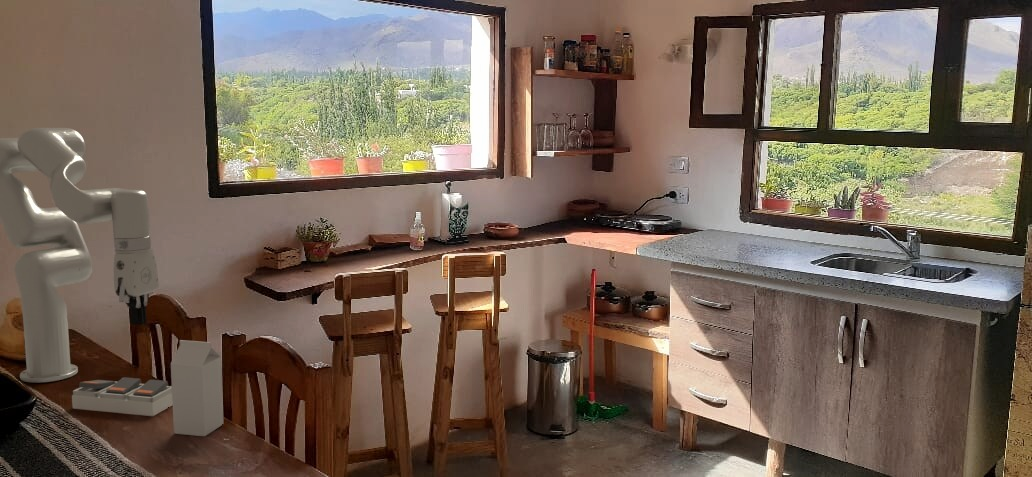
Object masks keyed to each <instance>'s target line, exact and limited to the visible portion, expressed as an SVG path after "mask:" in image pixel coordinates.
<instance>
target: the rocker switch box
mask: <svg viewBox="0 0 1032 477" xmlns="http://www.w3.org/2000/svg"><path fill="white" fill-rule="evenodd" d="M117 382H118V381H116V380H115V383H117ZM144 384H145V383H140V384H139V385H138V386H137V387H135V388H134V389H133V390H132V391H130V392H128V393H126V394H113V393H106V390H108V389H109V388H110V387H112V386H113V385H114V384H113V385H111V386H109V387H104V388H98V389H94V388H83V387H78V388H75V389H74V390H72V395H71V403H72V404H71V405H72V409H74V410H85V411H96V412H103V413H104V412H107V413H116V414H117V413H118V414H125V415H136V416H148V417H154V416H156V415H157V414H159V413H161V412H163V411H165V410H167V409H169V408H171V407H173V402H172V385H170V386H169V385H168V386H166V387H165V388H164V389H163V390H162V391H161V392H159V393H158V394H157V395H155V396H153V397H146V396H135V395H134V394H133V393H134V392H136V391H137V390H138V389H139V388H140V387H142V386H143V385H144ZM168 407H169V408H168Z"/></svg>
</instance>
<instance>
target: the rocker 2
mask: <svg viewBox="0 0 1032 477" xmlns="http://www.w3.org/2000/svg"><path fill="white" fill-rule="evenodd" d="M116 382H117V383H115V384H114V385H113V386H112V387H110V388H109V389H108V390H106V393H113V394H126V393H128V392H130V391H132V390H133V389H134V388H135V387H137V386H138V385H139V384H142V379H141V378H135V377H128V376H127V377H125V376H124V377H122V378H121V379H119V380H118V381H116Z"/></svg>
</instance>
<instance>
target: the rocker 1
mask: <svg viewBox="0 0 1032 477" xmlns="http://www.w3.org/2000/svg"><path fill="white" fill-rule="evenodd" d="M115 381H116V380H115ZM115 381H114V380H104V379H96V380H88V381H87V380H86V381H80V382H79V385H78V388H80V387H83V388H94V389H98V388H104V387H109V386H111V385H113V384H115Z"/></svg>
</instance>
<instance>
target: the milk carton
mask: <svg viewBox="0 0 1032 477" xmlns="http://www.w3.org/2000/svg"><path fill="white" fill-rule="evenodd" d="M222 372H223V371H222V356H221V355H220V354H219V353H218V352H217V351H216V350H215V349H214V348H213V347H212V342H208V341H197V340H185V339H184V340H183V339H180V340H179V346H178V348H177V351H176V353H175V354H174V356H173V358H172V360H171V362H170V378H171V386H172V402H173V405H172V419H173V421H172V422H173V434H174V435H175V434H176V435H186V436H187V435H189V436H197V437H206V436H207V435H210V434H211V433H213V432H214V431H215V430H216V429H219V428H220V427H221V426H223V425H224V404H223V403H224V402H223V401H224V400H223V399H224V398H223V379H222V378H223V376H222V374H223V373H222ZM222 424H223V425H222Z"/></svg>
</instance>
